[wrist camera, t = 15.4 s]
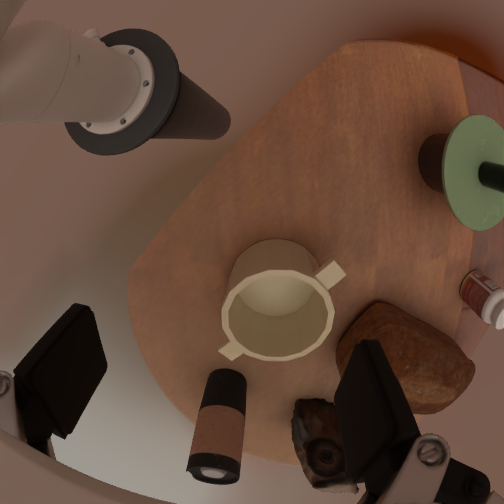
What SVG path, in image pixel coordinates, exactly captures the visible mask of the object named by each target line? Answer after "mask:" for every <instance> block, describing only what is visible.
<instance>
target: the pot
mask: <svg viewBox="0 0 504 504" xmlns="http://www.w3.org/2000/svg"><path fill="white" fill-rule="evenodd" d="M346 275H347V274H346V272H345V270H344V269H343V268H342V267H341V266H340V264H339V263H338V262H337V261H336V260H335V259H334V258H333V257H331V258H330V259H329V260H328V261H327V262H325V263H324V264H323V265H322V266H321V267H319V265H318V262H317V260H316V259H315V258H314V257H313V255H312V254H311V253H310V252H309V251H308V250H307V249H306V248H304V247H303V246H301V245H299V244H297V243H295V242H292V241H289V240H284V239H270V240H264V241H261V242H258V243H256V244H254V245H252V246H250V247H249V248H247V249H246V250H245V251H244V252H243V253H242V254H241V255H240V256H239V257H238V258H237V260H236V262H235V264H234V267H233V269H232V272H231V274H230V278H229V282H228V285H227V289H226V293H225V297H224V301H223V305H222V309H221V315H222V328H223V330H224V332H225V333H226V335H227V337H228V338H229V339H228V340H226V341H225V342H223V343H222V344H221V345H219V347H218V351H219V352H220V353H221V354H223V355H224V356H225V357H227V358H228V359H229V360H231V361H232V360H234V359H235V358H237V357H238V356H240V355H241V354H243V353H245V354H246V355H248V356H251V357H254V358H257V359H261V360H264V361H288V360H292V359H295V358H299V357H302V356H305V355H307V354H308V353H310V352H311V351H312V350H314V349H315V348H317V347H318V346H320V345H321V344H322V342H323V341H324V340H325V338H326V337H327V335H328V334H329V333H330V331H331V329H332V325H333V320H334V314H335V310H334V306H333V303H332V300H331V296H330V293H329V291H328V290H329V289H330V288H331V287H333V286H334V285H335V284H336V283H337V282H339V281H340V280H341V279H342V278H344V277H345V276H346Z"/></svg>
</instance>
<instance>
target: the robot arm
mask: <svg viewBox="0 0 504 504" xmlns="http://www.w3.org/2000/svg"><path fill="white" fill-rule="evenodd" d="M25 2H26V0H0V126H1V125H9V124H23V123H44V122H79V123H80V124H81V125H82V127H84V128H85V129H86V130H88V131H90V132H92V133H96V134H112V133H116V132H119V131H121V130H124V129H125V128H127V127H128V126H130V125H131V124H132V123H134V122H135V121H136V120H137V119H138V118H139V117H140V115H141V114H142V113H143V112H144V110H145V109H146V107H147V105H148V104H149V101H150V99H151V97H152V93H153V89H154V83H155V75H154V68H153V66H152V63H151V61H150V59H149V58H148V56H147V55H146V54H145V53H143V52H142V51H141V50H139V49H138V48H135V47H133V46H129V45H115V46H112V47H107V46H106V45H105V43H104V42H101V41H100V36H99V34H98V31H97V29H95V28H92V29H89V30H88V31H86V32H85V33H84V35H81V34H79V33H76V32H74V31H72V30H70V29H67V28H64V27H62V26H60V25H57V24H54V23H52V22H48V21H30V22H25V23H21V24H18V25H15V26H13V27H10V28H8V27H9V26H10V24H11V22H12V21H13V19H14V18H15V16H16V15H17V13H18V12H19V10H20V8H21V7H22V6H23V4H24V3H25ZM133 53H134V54H133ZM148 83H149V85H148V86H147V84H148ZM125 120H126V123H125ZM106 370H107V361H106V358H105V354H104V351H103V347H102V344H101V340H100V336H99V332H98V329H97V324H96V320H95V317H94V313H93V311H91V309H90V307H89V306H86V305H82V304H78V303H74V304H73V305H72V306H71V307H70V308H69V309H68V310H67V311H66V312H65V313H64V314H63V315H62V316H61V317H60V319H58V320H57V321H56V322H55V324H54V325H53V326H52V327H51V328H50V329H49V330H48V331H47V332H46V333H45V334H44V335H43V337H42V338H41V339H40V340H39V341H38V342H37V343H36V344H35V346H34V347H33V348H32V349H31V350H30V351H29V352H28V354H27V355H26V356H25V357H24V358H23V359H22V361H21V362H20V363H19V364H18V365H17V367H16V368H15V369H14V370H13V372H14V374H15V376H14V377H12V376H11V374H9V373H8V372H6V371H0V504H175V503H171V502H166V501H162V500H158V499H154V498H151V497H147V496H143V495H140V494H137V493H134V492H130V491H128V490H125V489H121V488H118V487H116V486H113V485H110V484H108V483H105V482H102V481H100V480H97V479H95V478H92V477H90V476H88V475H86V474H83V473H81V472H79V471H77V470H75V469H72V468H70V467H68V466H66V465H64V464H62V463H60V462H58V461H56V458H55V454H54V450H53V446H52V442H51V438H50V437H51V435H52V433H53V434H55V435H57V436H59V437H61V438H63V439H66V437H67V435H68V434H71V433H72V432H73V429H74V428H75V426H76V424H77V422H78V420H79V418H80V416H81V415H82V413H83V411H84V409H85V408H86V406H87V404H88V402H89V400H90V399H91V397H92V395H93V393H94V391H95V390H96V388H97V386H98V385H99V383H100V381H101V379H102V378H103V376H104V374H105V373H106ZM334 403H335V408H336V413H337V418H338V423H339V428H340V434H341V439H342V445H343V450H344V456H345V462H346V468H347V474H348V476H349V477H350V478H351V477H352V478H353V484H357V483H363V482H365V487H366V492H365V493H364V495H363V496H362V498H361V499H360V500H359V502H358V503H357V504H504V499H503V498H502V497H501V496H500V495H498V494H497V493H496V492H495V491H492V492H490V482H489V479H488V478H487V476H486V475H485V474H483V473H482V472H480V471H478V470H476V469H474V468H471V467H469V466H467V465H465V464H463V463H461V462H459V461H456V460H454V459H452V458H450V455H451V452H450V447H449V445H448V443H447V442H446V441H445V439H444V438H442V437H441V436H439V435H436V434H432V433H431V434H424V435H421V434H420V431H419V429H418V426H417V423H416V421H415V418H414V416H413V413H412V411H411V408H410V406H409V404H408V401H407V399H406V396H405V394H404V392H403V389H402V387H401V385H400V383H399V380H398V378H397V377H396V376H395V374H394V372H393V370H392V368H391V365H390V363H389V361H388V359H387V357H386V355H385V352H384V350H383V348H382V346H381V344H380V342H379V340H377V339H363V340H361V341H360V343H357V344H356V345H355V347H354V349H353V352H352V354H351V357H350V359H349V362H348V364H347V367H346V369H345V371H344V374H343V376H342V378H341V381H340V383H339V385H338V388H337V390H336V392H335V396H334Z"/></svg>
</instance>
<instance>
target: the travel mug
mask: <svg viewBox="0 0 504 504" xmlns="http://www.w3.org/2000/svg"><path fill="white" fill-rule="evenodd" d="M246 390H247V382H246V379H245V377H244V376H243V375H242V374H240V373H239V372H237V371H234V370H231V369H219V370H216V371H214V372H212V373H211V374H210V375H209V378H208V381H207V384H206V388H205V391H204V395H203V399H202V402H201V406H200V409H199V413H198V418H197V422H196V427H195V432H194V437H193V441H192V446H191V451H190V455H189V460H188V465H187V469H186V471H189V472H190V473H191V474H192V476H193V477H194V478H195V479H196V480H199V481H202V482H205V483H210V484H219V485H227V484H233V483H236V482H237V481H238V480H239V477H240V467H241V457H242V447H243V437H244V427H245V413H246Z"/></svg>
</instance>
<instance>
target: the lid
mask: <svg viewBox="0 0 504 504" xmlns="http://www.w3.org/2000/svg"><path fill="white" fill-rule="evenodd" d="M442 183H443V189H444V194H445V197H446V200H447V203H448V206H449V208H450V210H451V211H452V213H453V215H454V216H455V217H456V219H457V220H458V221H459V222H460V223H461V224H463V225H464V226H466V227H467V228H470V229H472V230H476V231H483V230H487V229H490V228H492V227H493V226H495V225H496V224H497V223H499V222H500V221H501V220H502V218H503V217H504V130H503V129H502V128H501V126H500V125H499V124H498V123H497V122H495V121H494V120H493V119H491V118H489V117H487V116H484V115H470V116H467V117H465V118H463V119H461V120H460V121H459V122H458V123H457V124H456V125H455V126H454V128H453V129H452V131H451V132H450V134H449V136H448V139H447V141H446V144H445V147H444V152H443V158H442Z"/></svg>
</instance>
